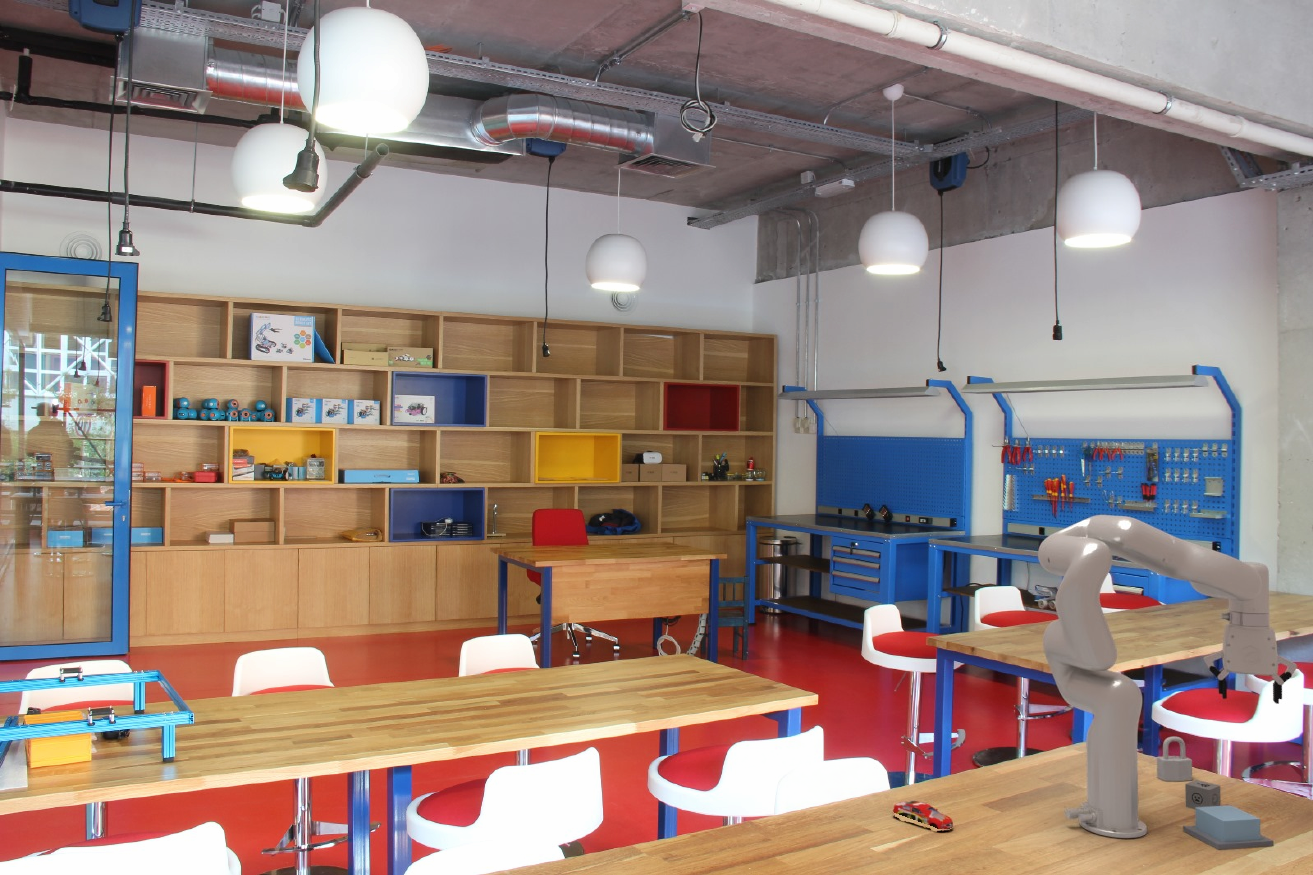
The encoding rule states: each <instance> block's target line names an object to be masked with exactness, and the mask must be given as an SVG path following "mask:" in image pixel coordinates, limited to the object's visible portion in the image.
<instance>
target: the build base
mask: <svg viewBox="0 0 1313 875" xmlns="http://www.w3.org/2000/svg"><path fill="white" fill-rule="evenodd" d="M1194 810H1195V811H1194V812H1195V815H1194V816H1195V817H1194V818H1195V819H1194V820H1195V822H1194V823H1195V824H1194V825H1183V826H1182V827H1183V828H1182V830H1183V831H1182V832H1183V833H1186V834H1188V835H1190V836H1191V837H1193V838H1194V839H1195V838H1196V839H1197V840H1199V841H1201V842H1203V843H1205V844H1206V845H1208V846H1211V847H1212V848H1214V849H1215V850H1218V851H1219V850H1221V851H1222V850H1233V849H1234V850H1235V849H1250V848H1263V847H1265V848H1266V847H1274V845H1275V844H1274V843H1275V842H1274V840H1273V839H1270V838H1268V837H1267V836H1265V835H1263V834H1261V818H1259V817H1257V816H1255V815H1253V814H1250V813H1249V812H1246V811H1244V810H1242V809H1240V808H1237V807H1236V806H1233V805H1232V804H1231V805H1230V804H1229V805H1221V806H1210V807H1195V809H1194Z"/></svg>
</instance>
